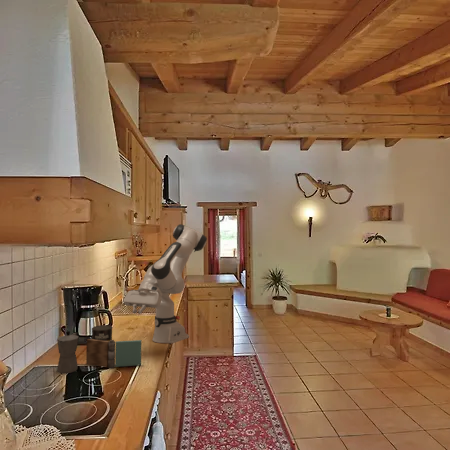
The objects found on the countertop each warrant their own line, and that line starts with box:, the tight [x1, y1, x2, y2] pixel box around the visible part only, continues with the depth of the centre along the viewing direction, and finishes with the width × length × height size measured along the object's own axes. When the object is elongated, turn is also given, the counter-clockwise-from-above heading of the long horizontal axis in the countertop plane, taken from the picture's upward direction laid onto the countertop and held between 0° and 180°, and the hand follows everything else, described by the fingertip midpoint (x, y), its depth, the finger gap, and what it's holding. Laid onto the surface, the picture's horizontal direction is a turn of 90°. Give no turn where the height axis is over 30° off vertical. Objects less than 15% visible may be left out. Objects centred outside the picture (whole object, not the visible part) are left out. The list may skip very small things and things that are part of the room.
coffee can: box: [91, 324, 113, 341], centre depth 190 cm, size 10×10×14 cm
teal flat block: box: [108, 339, 142, 368], centre depth 174 cm, size 15×3×12 cm, turn 103°
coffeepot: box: [56, 330, 80, 375], centre depth 170 cm, size 15×9×18 cm, turn 171°
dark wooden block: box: [85, 338, 116, 369], centre depth 175 cm, size 15×3×13 cm, turn 73°
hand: (136, 312), depth 185 cm, fingers closed
